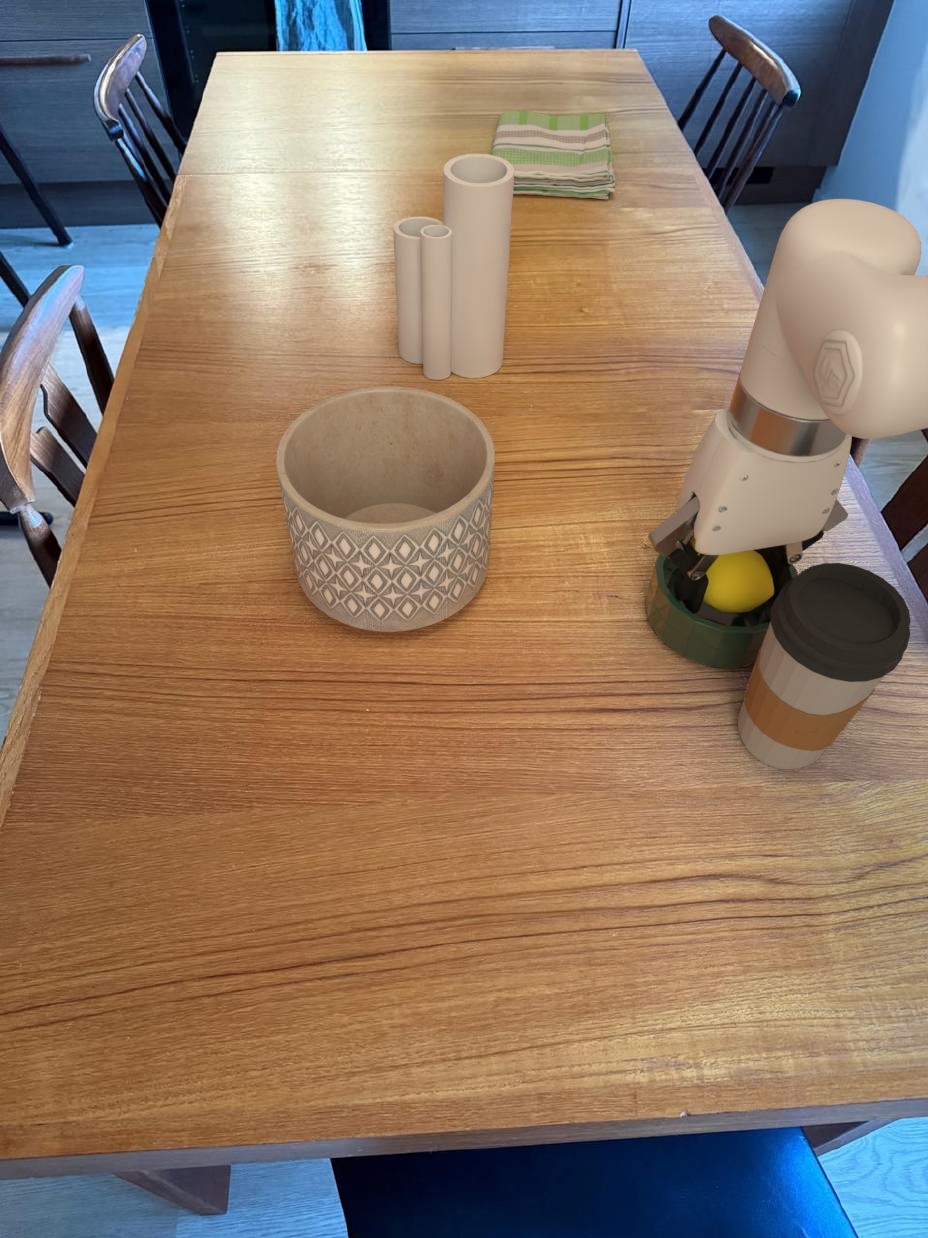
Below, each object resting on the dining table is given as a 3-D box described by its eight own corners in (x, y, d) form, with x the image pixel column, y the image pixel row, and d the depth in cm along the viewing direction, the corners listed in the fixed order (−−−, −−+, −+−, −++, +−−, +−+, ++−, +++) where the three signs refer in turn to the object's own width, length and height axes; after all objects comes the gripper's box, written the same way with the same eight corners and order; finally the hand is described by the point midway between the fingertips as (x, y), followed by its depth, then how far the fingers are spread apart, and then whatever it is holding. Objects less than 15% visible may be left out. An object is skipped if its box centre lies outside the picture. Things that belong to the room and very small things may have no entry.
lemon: (773, 594, 72) (793, 547, 68) (754, 640, 69) (774, 593, 65) (690, 563, 74) (705, 516, 70) (668, 606, 71) (682, 559, 67)
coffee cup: (768, 671, 71) (832, 537, 59) (858, 741, 67) (946, 613, 55) (699, 728, 67) (752, 598, 55) (790, 806, 63) (868, 683, 52)
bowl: (809, 620, 74) (829, 580, 70) (727, 696, 69) (744, 657, 65) (700, 548, 79) (713, 506, 75) (617, 613, 74) (627, 572, 70)
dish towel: (485, 195, 120) (487, 168, 117) (494, 123, 135) (495, 98, 132) (614, 202, 119) (618, 175, 117) (609, 129, 134) (612, 104, 131)
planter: (519, 537, 79) (530, 422, 70) (433, 670, 70) (432, 559, 60) (359, 479, 84) (348, 364, 74) (258, 598, 74) (230, 483, 65)
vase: (502, 342, 99) (513, 153, 83) (503, 381, 94) (515, 190, 78) (400, 339, 98) (392, 150, 83) (395, 378, 94) (386, 186, 78)
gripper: (882, 358, 61) (802, 545, 75) (644, 390, 59) (606, 577, 72) (943, 426, 56) (845, 611, 70) (688, 463, 54) (638, 648, 68)
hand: (725, 592), depth 71 cm, fingers closed on lemon, 5 cm apart
